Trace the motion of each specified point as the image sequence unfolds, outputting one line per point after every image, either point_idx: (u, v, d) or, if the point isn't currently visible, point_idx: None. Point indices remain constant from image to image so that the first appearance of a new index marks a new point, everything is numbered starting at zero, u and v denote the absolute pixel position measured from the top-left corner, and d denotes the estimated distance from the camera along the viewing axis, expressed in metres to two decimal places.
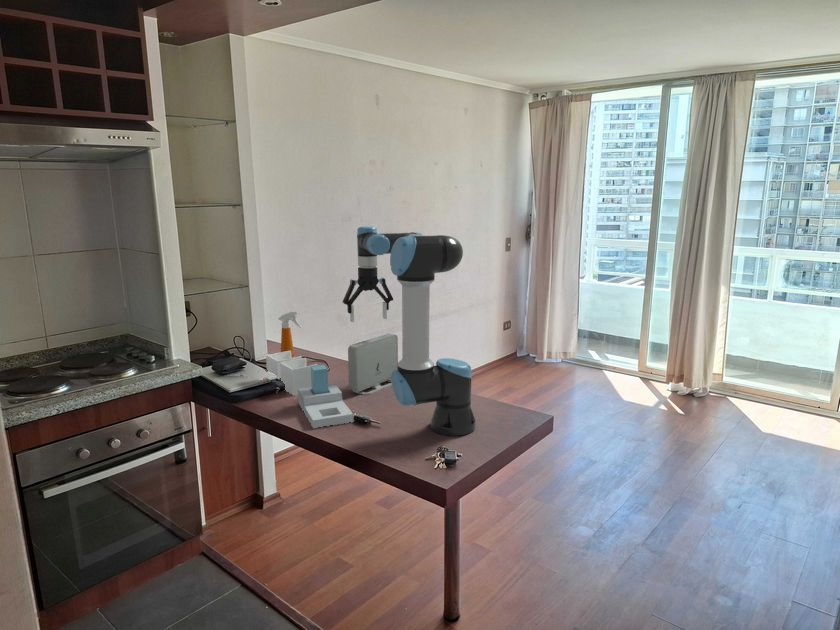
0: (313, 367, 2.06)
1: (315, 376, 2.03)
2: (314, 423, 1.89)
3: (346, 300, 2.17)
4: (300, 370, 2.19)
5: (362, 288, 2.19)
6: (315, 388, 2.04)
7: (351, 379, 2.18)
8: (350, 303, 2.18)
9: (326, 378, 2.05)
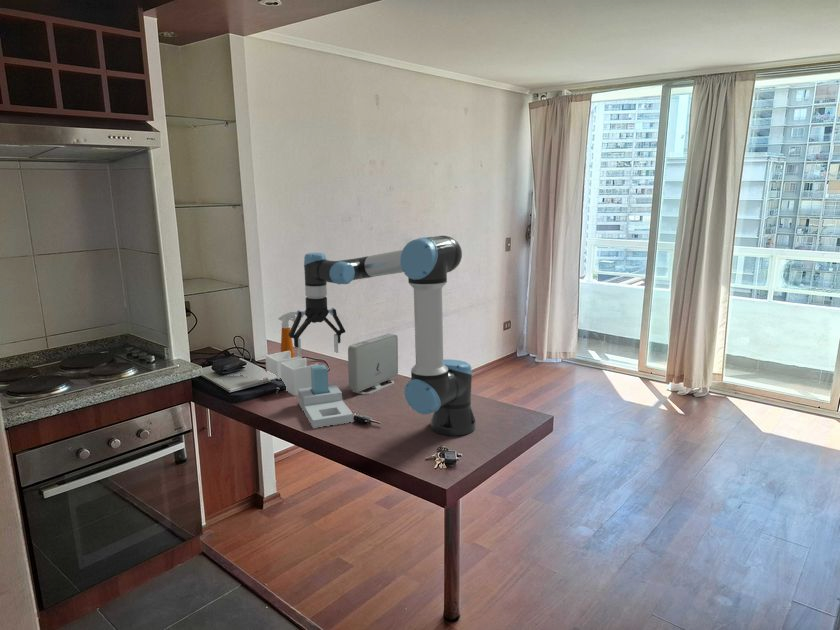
0: (313, 367, 2.06)
1: (315, 376, 2.03)
2: (314, 423, 1.89)
3: (292, 333, 1.98)
4: (301, 370, 2.19)
5: (310, 320, 1.99)
6: (315, 388, 2.04)
7: (351, 379, 2.18)
8: (296, 336, 1.99)
9: (326, 378, 2.05)
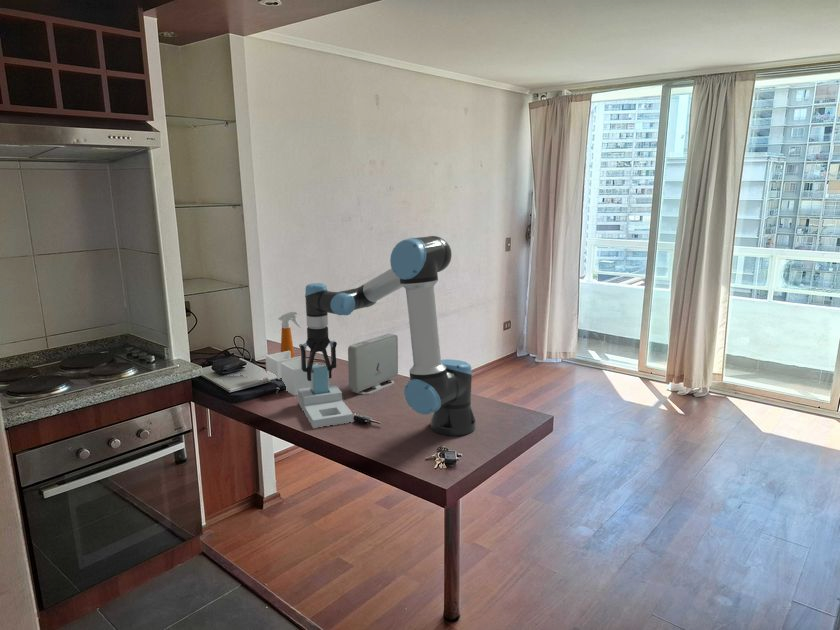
0: (313, 367, 2.06)
1: (315, 376, 2.03)
2: (314, 423, 1.89)
3: (304, 367, 2.02)
4: (301, 370, 2.19)
5: (314, 351, 2.02)
6: (315, 388, 2.04)
7: (351, 379, 2.18)
8: (309, 370, 2.03)
9: (326, 378, 2.05)
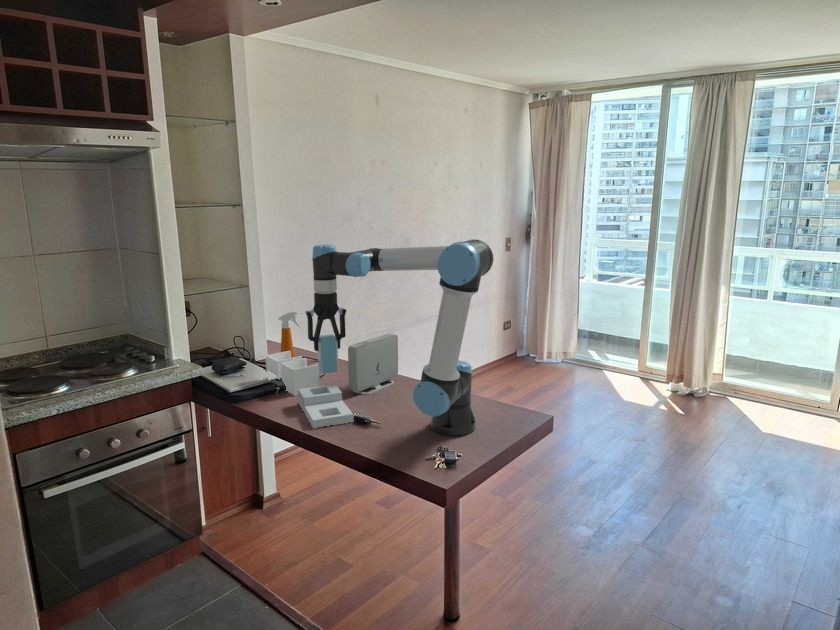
0: (320, 336, 1.90)
1: (323, 346, 1.88)
2: (314, 423, 1.89)
3: (310, 336, 1.87)
4: (301, 370, 2.19)
5: (321, 318, 1.87)
6: (323, 359, 1.89)
7: (351, 379, 2.18)
8: (316, 339, 1.88)
9: (334, 348, 1.90)
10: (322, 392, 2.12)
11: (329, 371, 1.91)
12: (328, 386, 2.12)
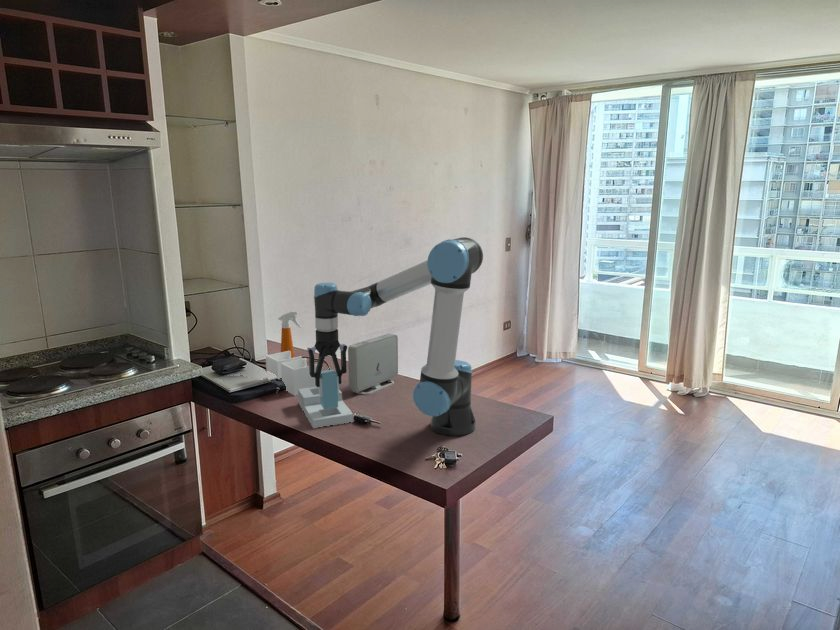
0: (322, 372, 1.93)
1: (324, 382, 1.90)
2: (314, 423, 1.89)
3: (312, 373, 1.89)
4: (301, 370, 2.19)
5: (323, 355, 1.89)
6: (324, 395, 1.91)
7: (351, 379, 2.18)
8: (318, 376, 1.90)
9: (336, 384, 1.92)
10: None
11: (330, 406, 1.93)
12: None
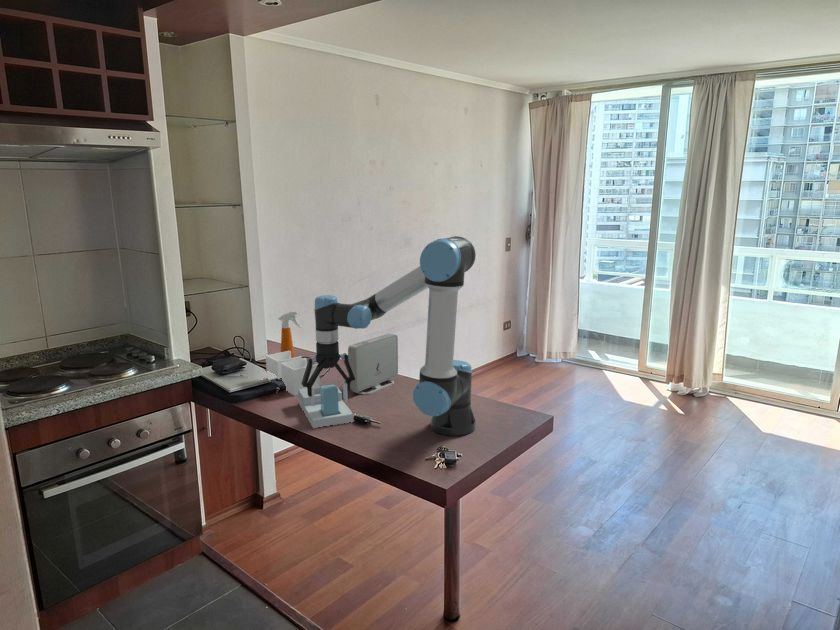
0: (323, 387, 1.94)
1: (325, 397, 1.92)
2: (314, 423, 1.89)
3: (305, 382, 1.89)
4: (301, 370, 2.19)
5: (321, 367, 1.90)
6: (325, 410, 1.93)
7: None
8: (310, 385, 1.90)
9: (336, 399, 1.93)
10: None
11: None
12: None
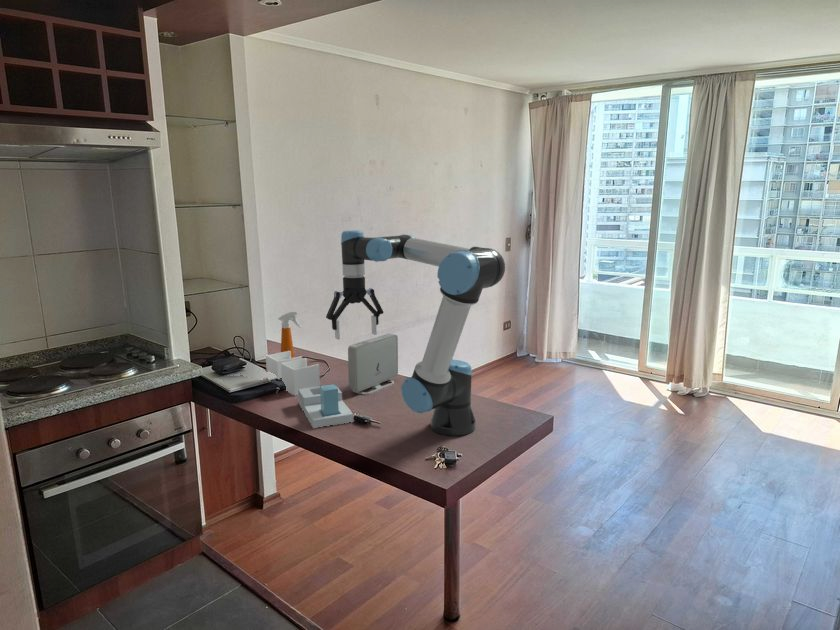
0: (323, 387, 1.94)
1: (325, 397, 1.92)
2: (314, 423, 1.89)
3: (330, 315, 1.90)
4: (301, 370, 2.19)
5: (348, 301, 1.92)
6: (325, 410, 1.93)
7: (351, 379, 2.18)
8: (335, 318, 1.91)
9: (336, 399, 1.93)
10: None
11: None
12: None
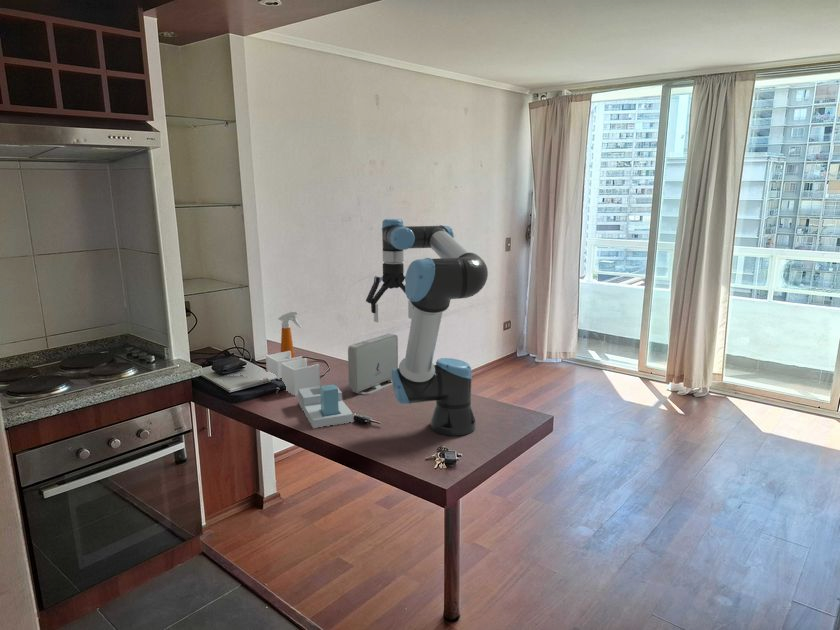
0: (323, 387, 1.94)
1: (325, 397, 1.92)
2: (314, 423, 1.89)
3: (370, 299, 2.01)
4: (301, 370, 2.19)
5: (387, 286, 2.02)
6: (325, 410, 1.93)
7: (351, 379, 2.18)
8: (374, 302, 2.02)
9: (336, 399, 1.93)
10: None
11: None
12: None
